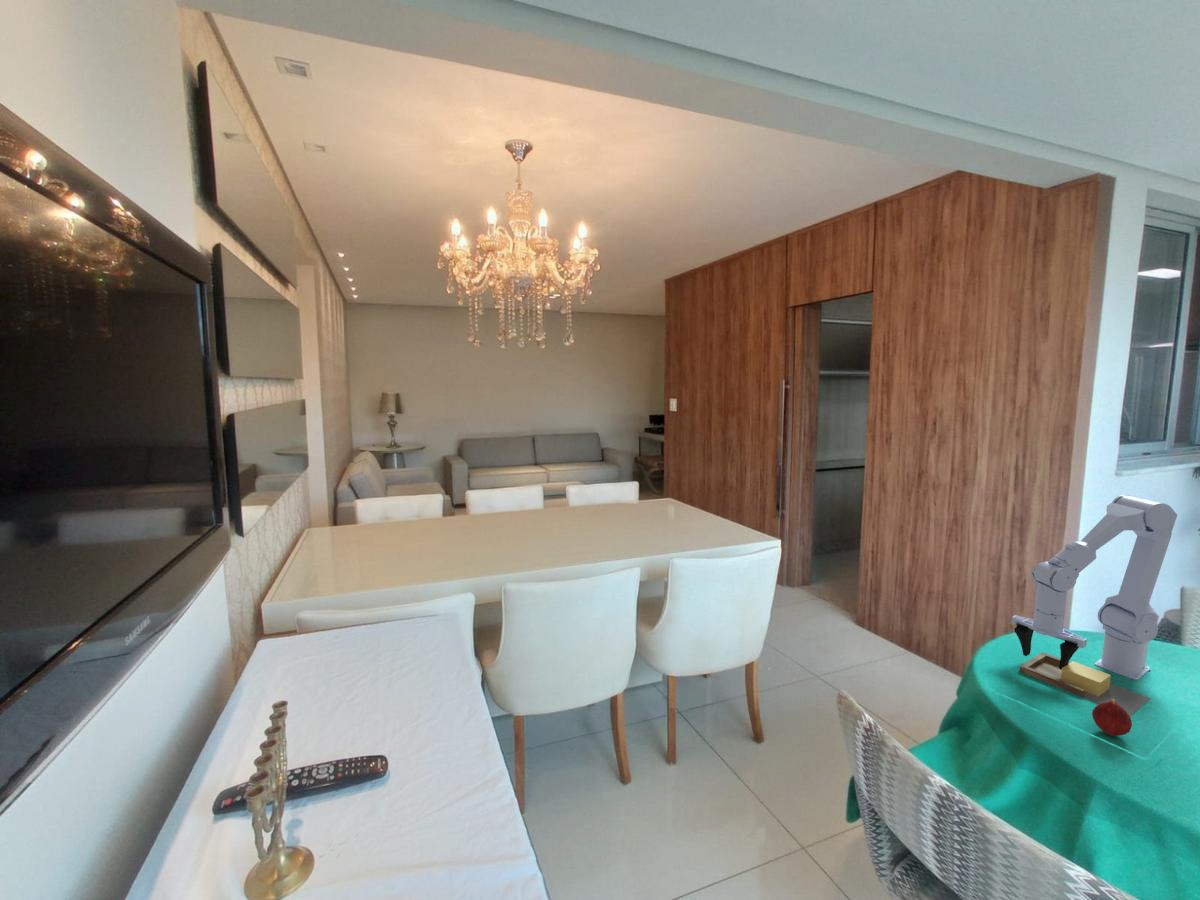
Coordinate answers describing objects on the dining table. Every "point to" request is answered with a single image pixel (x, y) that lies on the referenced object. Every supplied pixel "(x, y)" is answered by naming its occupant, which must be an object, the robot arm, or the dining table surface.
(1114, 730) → the onion
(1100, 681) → the block
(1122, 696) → the mat
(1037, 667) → the brown wooden tray
